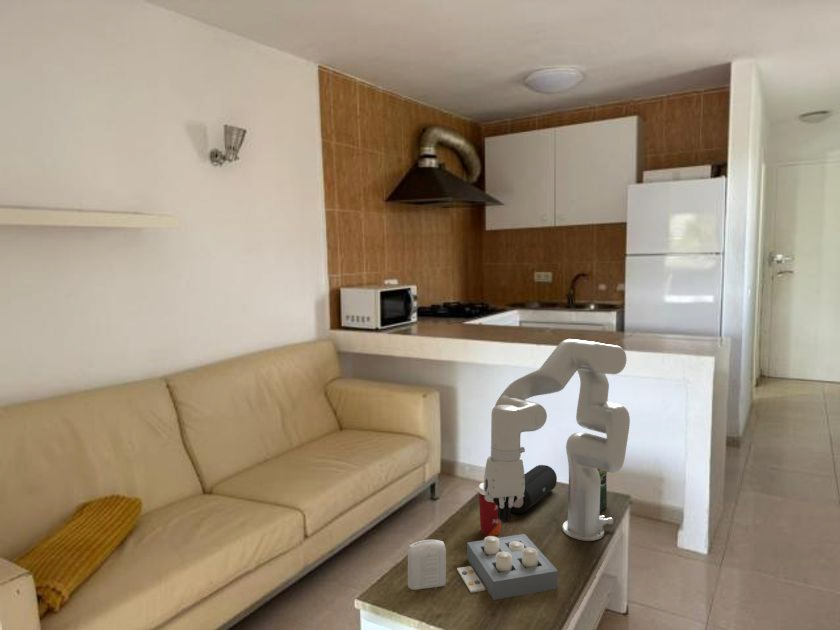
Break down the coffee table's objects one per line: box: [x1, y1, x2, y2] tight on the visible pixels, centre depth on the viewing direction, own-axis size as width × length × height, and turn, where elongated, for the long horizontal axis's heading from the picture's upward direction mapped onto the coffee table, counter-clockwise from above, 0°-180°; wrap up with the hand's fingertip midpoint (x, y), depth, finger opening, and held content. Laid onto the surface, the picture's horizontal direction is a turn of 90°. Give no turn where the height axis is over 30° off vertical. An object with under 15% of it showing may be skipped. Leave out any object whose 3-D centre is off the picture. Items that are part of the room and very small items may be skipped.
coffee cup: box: [477, 481, 502, 537], centre depth 179 cm, size 8×8×15 cm
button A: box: [509, 541, 524, 564], centre depth 161 cm, size 4×4×5 cm
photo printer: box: [407, 539, 447, 591], centre depth 151 cm, size 10×4×12 cm, turn 103°
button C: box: [483, 536, 499, 556], centre depth 159 cm, size 4×4×5 cm
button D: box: [495, 552, 513, 573], centre depth 151 cm, size 4×4×5 cm
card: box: [457, 565, 486, 593], centre depth 154 cm, size 4×11×1 cm, turn 15°
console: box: [466, 533, 559, 601], centre depth 156 cm, size 18×20×5 cm
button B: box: [522, 548, 538, 569], centre depth 153 cm, size 4×4×5 cm
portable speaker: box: [503, 464, 558, 514], centre depth 200 cm, size 26×10×10 cm, turn 143°
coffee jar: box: [597, 469, 608, 512], centre depth 195 cm, size 10×8×19 cm
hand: (504, 520), depth 150 cm, fingers closed
